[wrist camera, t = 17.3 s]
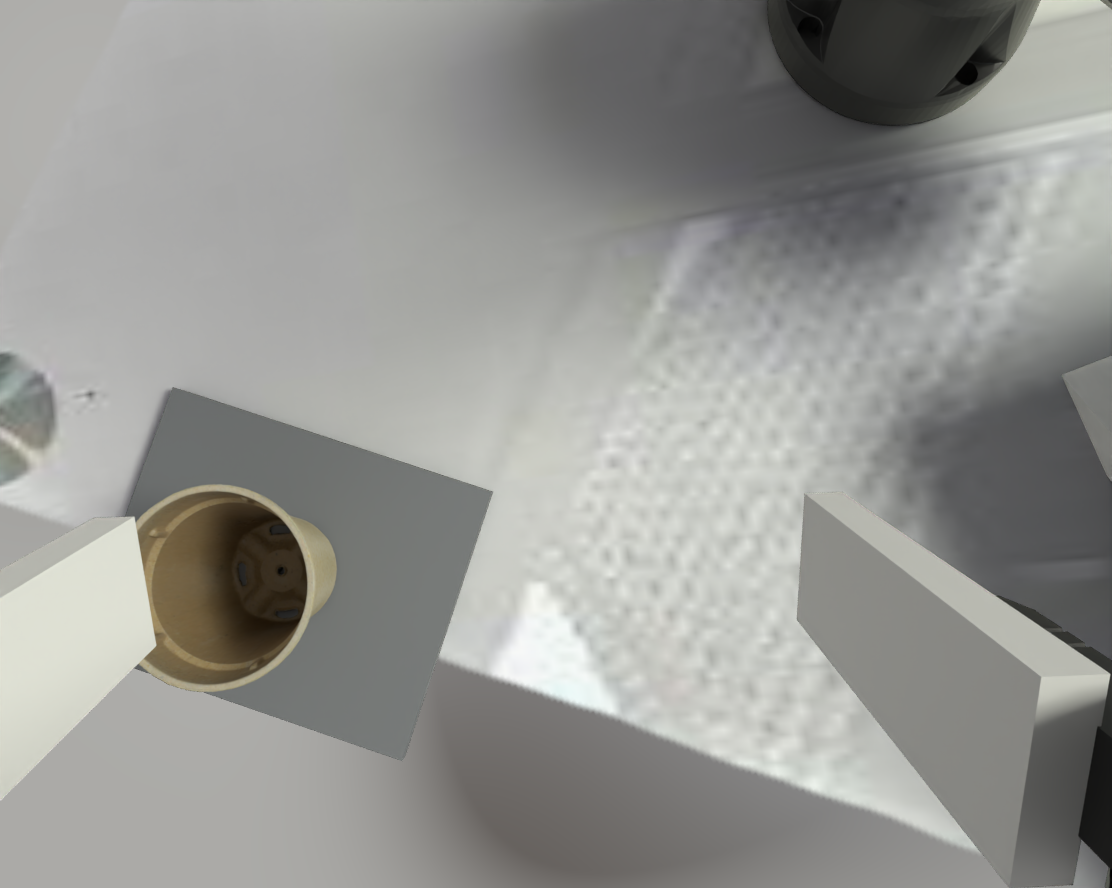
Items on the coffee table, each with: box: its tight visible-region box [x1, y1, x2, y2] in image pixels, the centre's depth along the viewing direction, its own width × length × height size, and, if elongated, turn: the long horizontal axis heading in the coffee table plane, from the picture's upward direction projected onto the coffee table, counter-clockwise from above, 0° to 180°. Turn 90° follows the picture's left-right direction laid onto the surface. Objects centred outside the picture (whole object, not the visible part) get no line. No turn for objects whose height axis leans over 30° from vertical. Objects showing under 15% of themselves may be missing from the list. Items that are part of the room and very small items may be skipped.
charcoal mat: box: [125, 387, 493, 761], centre depth 41 cm, size 20×16×1 cm
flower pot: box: [136, 484, 337, 692], centre depth 36 cm, size 9×9×9 cm
